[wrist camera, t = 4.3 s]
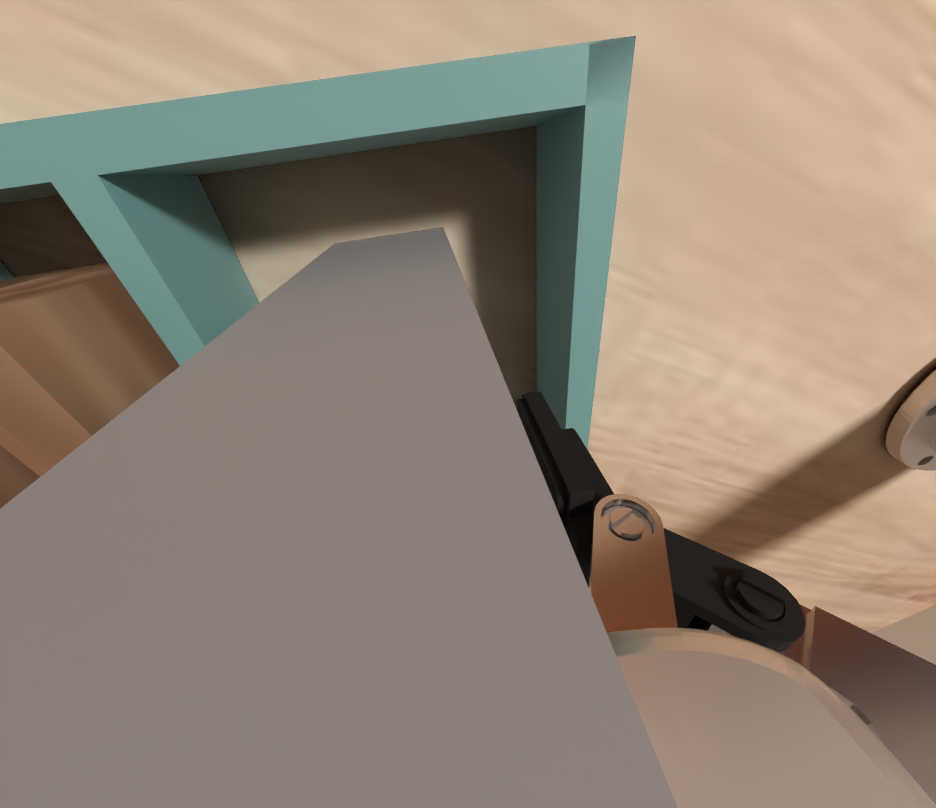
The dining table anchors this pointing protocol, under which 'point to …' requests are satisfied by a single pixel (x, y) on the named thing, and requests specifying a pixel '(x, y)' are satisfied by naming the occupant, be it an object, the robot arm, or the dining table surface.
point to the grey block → (314, 578)
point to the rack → (333, 133)
